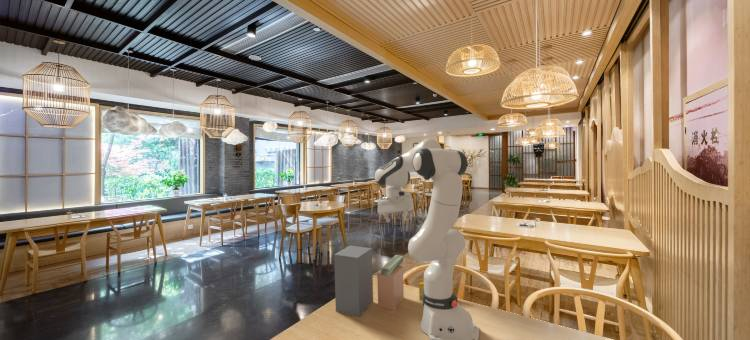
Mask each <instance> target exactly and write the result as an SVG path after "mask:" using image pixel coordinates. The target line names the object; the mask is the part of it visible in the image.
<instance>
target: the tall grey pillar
mask: <svg viewBox="0 0 750 340" xmlns="http://www.w3.org/2000/svg"><path fill="white" fill-rule="evenodd" d="M333 256H334V257H333V260H334V261H333V262H334V263H333V265H334V286H335V287H334V295H335V312H337V313H341V314H346V315H349V316H353V317H357V318H359V317H361V316H362V315H363V314H364V313H365V312H366V310H367V309H368V308H369V307H370V306H372V304H373V303H374V284H373V282H374V279H373V277H374V275H373V248H372V247H364V246H357V245H348V246H347V247H344V248H343V249H341V250H340V251H338V252H335V253H334V254H333Z"/></svg>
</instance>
